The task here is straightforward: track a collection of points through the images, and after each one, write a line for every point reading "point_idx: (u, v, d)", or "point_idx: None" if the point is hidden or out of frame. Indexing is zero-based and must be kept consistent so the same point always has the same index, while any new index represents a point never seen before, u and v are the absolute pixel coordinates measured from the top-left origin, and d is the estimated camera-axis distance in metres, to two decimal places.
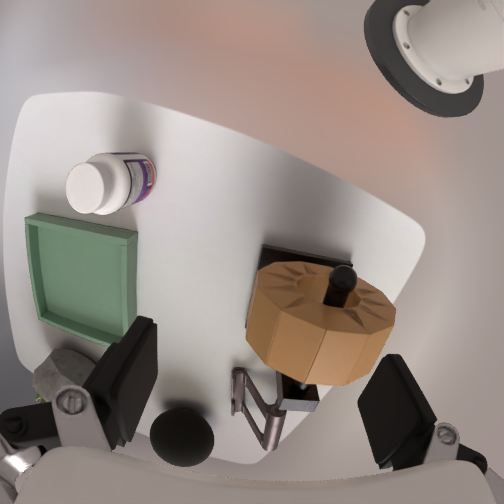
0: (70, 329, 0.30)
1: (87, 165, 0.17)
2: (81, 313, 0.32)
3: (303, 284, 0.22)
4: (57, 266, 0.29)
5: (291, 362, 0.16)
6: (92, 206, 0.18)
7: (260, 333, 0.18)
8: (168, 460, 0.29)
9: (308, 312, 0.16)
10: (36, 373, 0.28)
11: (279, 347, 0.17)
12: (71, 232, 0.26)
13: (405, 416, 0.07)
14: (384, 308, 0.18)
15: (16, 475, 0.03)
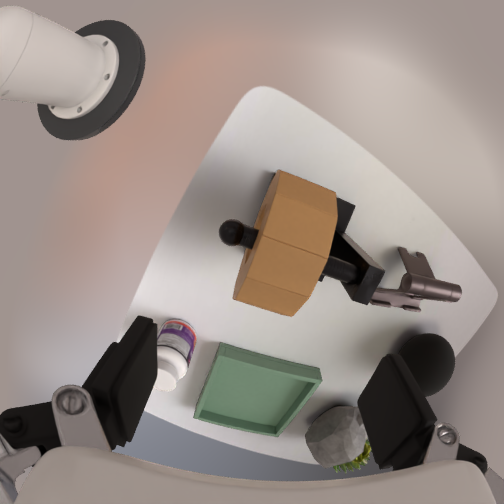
0: (290, 417, 0.39)
1: None
2: (281, 402, 0.40)
3: None
4: (238, 406, 0.41)
5: (285, 301, 0.19)
6: (171, 378, 0.27)
7: (267, 309, 0.21)
8: (433, 391, 0.28)
9: (243, 277, 0.19)
10: (316, 459, 0.36)
11: (271, 306, 0.20)
12: (208, 389, 0.37)
13: (405, 416, 0.07)
14: (274, 186, 0.19)
15: (16, 475, 0.03)
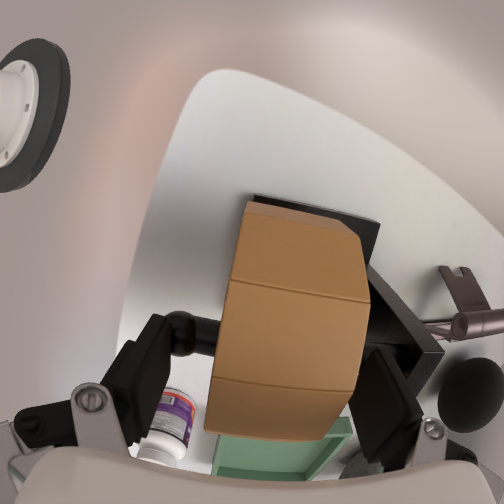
0: (319, 467, 0.29)
1: None
2: (308, 453, 0.30)
3: None
4: (259, 461, 0.31)
5: (283, 440, 0.09)
6: None
7: None
8: (482, 426, 0.17)
9: None
10: None
11: (262, 439, 0.10)
12: (220, 455, 0.28)
13: (391, 410, 0.07)
14: None
15: (29, 473, 0.03)
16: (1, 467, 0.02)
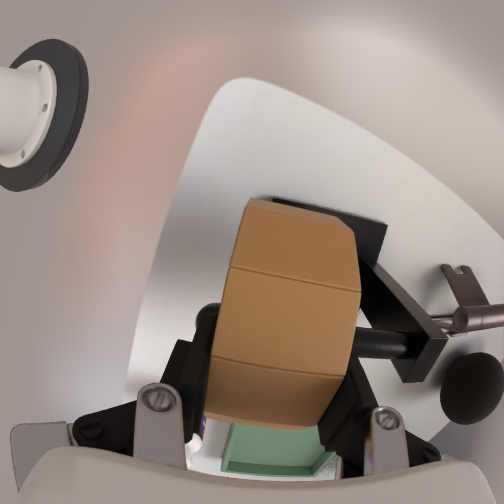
0: (327, 460, 0.30)
1: None
2: (316, 446, 0.32)
3: None
4: (268, 455, 0.32)
5: (278, 426, 0.10)
6: None
7: None
8: (483, 418, 0.19)
9: None
10: None
11: (259, 426, 0.11)
12: (231, 448, 0.29)
13: (343, 395, 0.08)
14: None
15: None
16: None
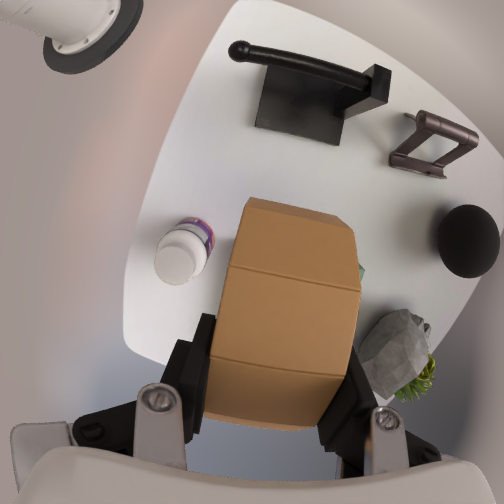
0: None
1: (155, 260, 0.25)
2: None
3: None
4: None
5: (278, 426, 0.10)
6: (187, 259, 0.25)
7: None
8: (487, 261, 0.24)
9: None
10: (374, 388, 0.33)
11: (259, 426, 0.11)
12: None
13: (343, 395, 0.08)
14: None
15: None
16: None
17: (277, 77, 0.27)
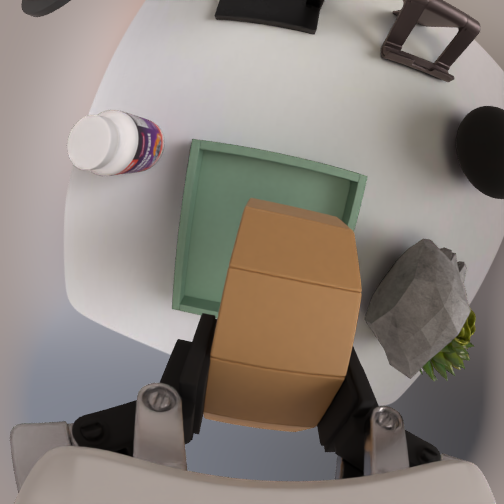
0: None
1: (69, 138, 0.15)
2: None
3: None
4: None
5: (278, 427, 0.10)
6: (103, 128, 0.15)
7: None
8: None
9: None
10: (394, 361, 0.23)
11: (259, 427, 0.11)
12: (185, 225, 0.24)
13: (343, 395, 0.08)
14: None
15: None
16: None
17: None
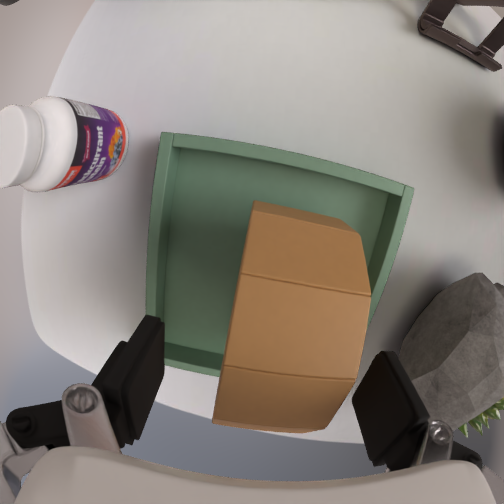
0: None
1: None
2: None
3: None
4: None
5: (288, 430, 0.10)
6: (19, 123, 0.07)
7: None
8: None
9: None
10: None
11: (267, 430, 0.11)
12: (155, 257, 0.16)
13: (398, 413, 0.07)
14: None
15: (23, 474, 0.03)
16: None
17: None
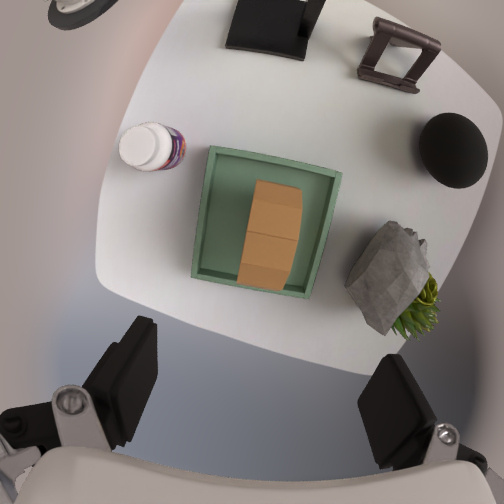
0: (317, 249, 0.33)
1: (120, 142, 0.23)
2: (302, 233, 0.34)
3: None
4: None
5: (273, 278, 0.25)
6: (149, 136, 0.23)
7: (262, 287, 0.28)
8: (476, 160, 0.21)
9: None
10: (369, 320, 0.30)
11: (264, 283, 0.26)
12: (204, 210, 0.32)
13: (405, 416, 0.07)
14: None
15: (16, 475, 0.03)
16: None
17: (246, 9, 0.25)
